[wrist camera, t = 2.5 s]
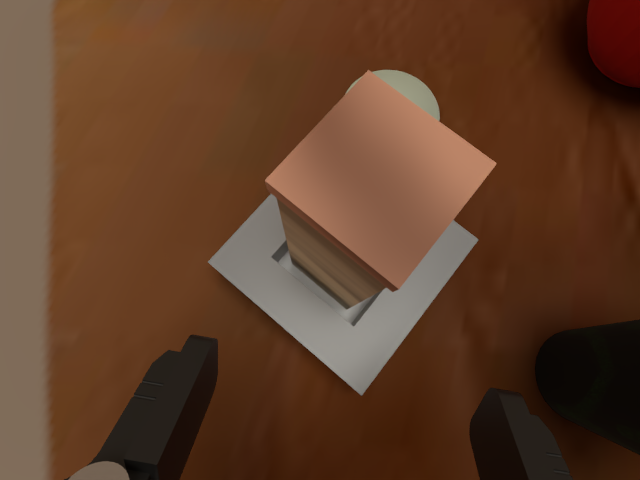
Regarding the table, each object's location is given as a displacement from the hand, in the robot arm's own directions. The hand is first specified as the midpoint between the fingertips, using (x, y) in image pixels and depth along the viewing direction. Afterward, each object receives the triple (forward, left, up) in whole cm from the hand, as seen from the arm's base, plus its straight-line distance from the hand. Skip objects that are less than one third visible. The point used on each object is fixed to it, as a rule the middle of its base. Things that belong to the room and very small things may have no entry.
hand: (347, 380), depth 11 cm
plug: (-5, -3, -12) cm, 14 cm away
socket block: (-5, -3, -13) cm, 14 cm away
